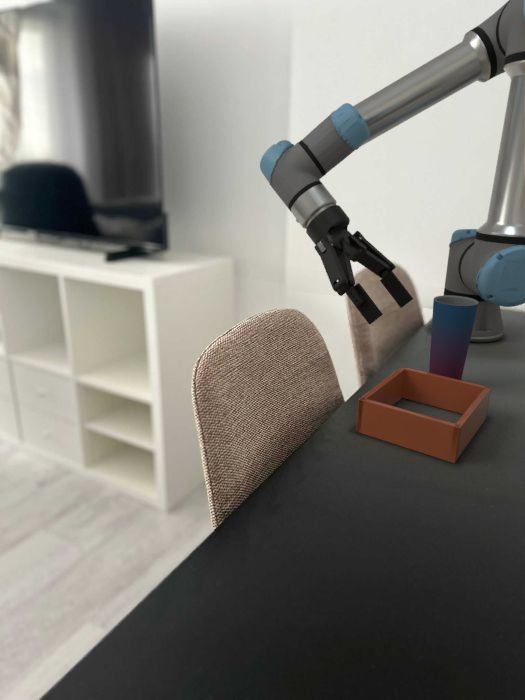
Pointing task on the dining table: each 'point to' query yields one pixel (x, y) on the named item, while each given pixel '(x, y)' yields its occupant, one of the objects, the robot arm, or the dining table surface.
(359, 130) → the robot arm
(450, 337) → the cup
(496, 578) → the dining table surface
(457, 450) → the rectangular frame
